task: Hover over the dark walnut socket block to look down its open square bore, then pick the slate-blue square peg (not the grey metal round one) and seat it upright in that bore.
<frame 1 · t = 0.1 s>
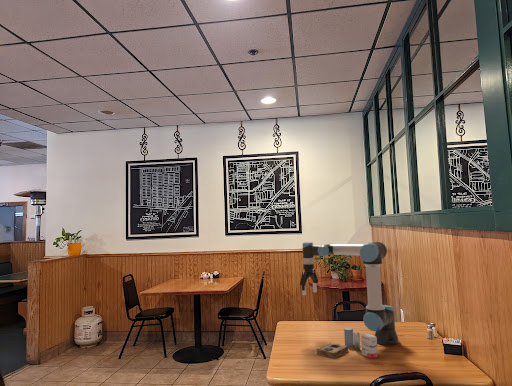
hand: (309, 293, 265), 28 cm above the table, fingers open, 13 cm apart
ink box: (369, 356, 215), on the table
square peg: (349, 344, 236), on the table
socket block: (332, 352, 222), on the table
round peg: (357, 349, 227), on the table
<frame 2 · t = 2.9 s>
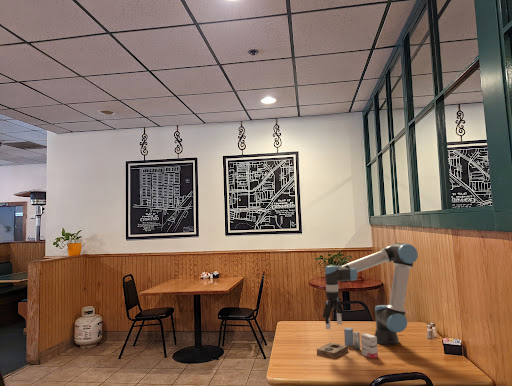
hand: (334, 326, 226), 15 cm above the table, fingers open, 13 cm apart
nothing on the table moved.
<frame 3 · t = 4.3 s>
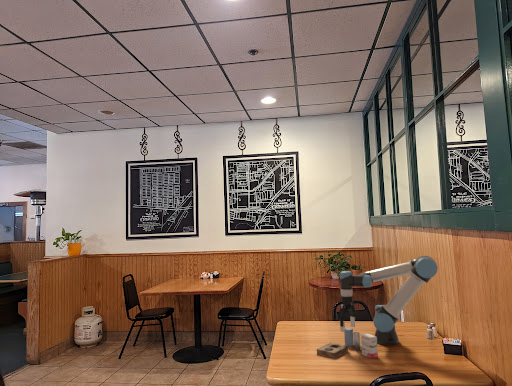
hand: (347, 329, 237), 10 cm above the table, fingers open, 13 cm apart
nothing on the table moved.
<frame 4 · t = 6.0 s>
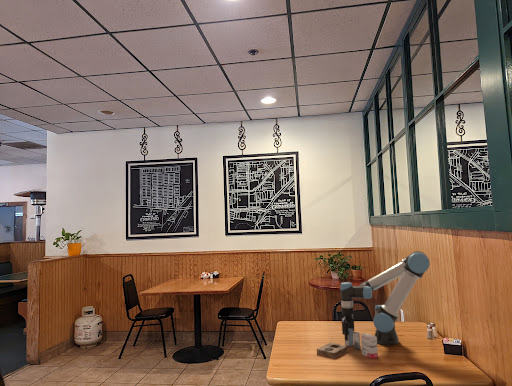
hand: (349, 344, 236), 0 cm above the table, fingers closed on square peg, 4 cm apart
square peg: (349, 344, 236), on the table, touching gripper
everything else where it was.
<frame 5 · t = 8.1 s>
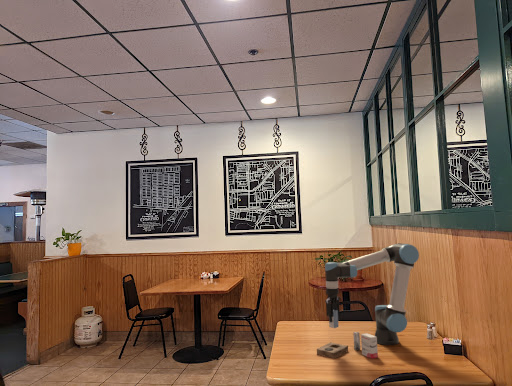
hand: (333, 326, 226), 15 cm above the table, fingers closed on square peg, 4 cm apart
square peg: (333, 327, 226), point 14 cm above the table, touching gripper
everything else where it was.
when the fingers open (3 cm above the table, at t = 10.4 s): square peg drops 3 cm, resting in socket block.
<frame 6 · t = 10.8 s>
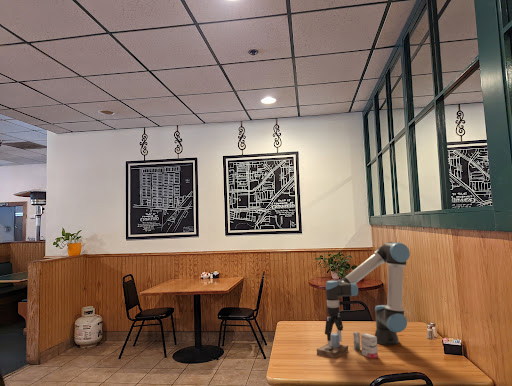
hand: (334, 343, 225), 5 cm above the table, fingers open, 10 cm apart
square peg: (335, 351, 224), resting in socket block
everything else where it was.
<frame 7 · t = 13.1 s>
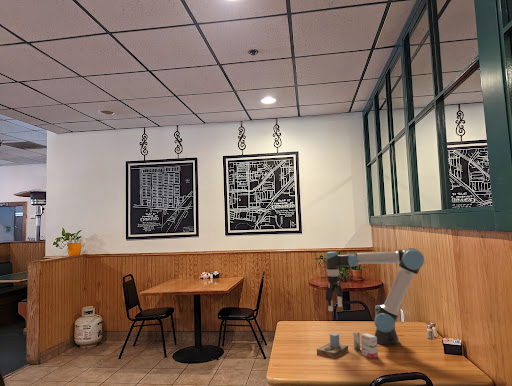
hand: (335, 308, 239), 22 cm above the table, fingers open, 13 cm apart
nothing on the table moved.
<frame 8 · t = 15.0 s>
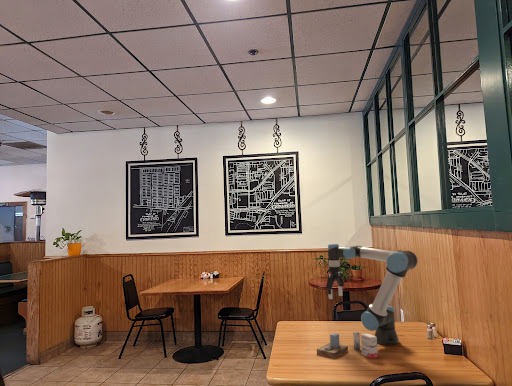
hand: (335, 297, 255), 27 cm above the table, fingers open, 13 cm apart
nothing on the table moved.
at the end: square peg 0.1 cm from the target spot on the socket block, point 0.0 cm above the socket block's base; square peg tilted 0°; the gripper is holding nothing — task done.
